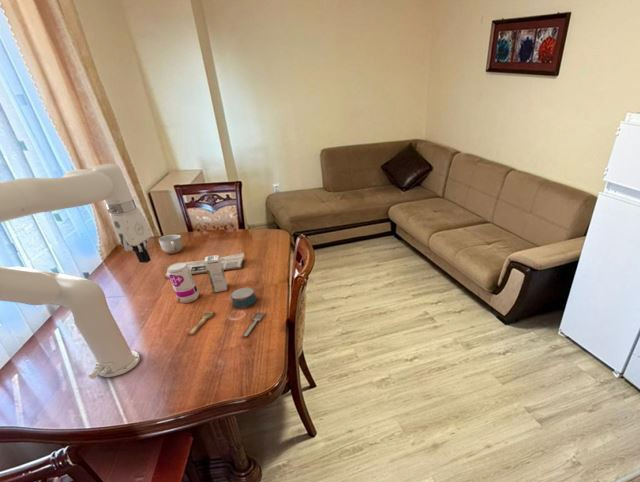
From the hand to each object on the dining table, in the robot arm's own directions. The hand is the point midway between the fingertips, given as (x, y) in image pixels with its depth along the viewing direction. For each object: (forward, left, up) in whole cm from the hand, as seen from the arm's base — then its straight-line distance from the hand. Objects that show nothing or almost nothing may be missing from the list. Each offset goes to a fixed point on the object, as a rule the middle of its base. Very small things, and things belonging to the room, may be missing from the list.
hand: (145, 261), depth 130 cm
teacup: (+68, +42, -27) cm, 84 cm away
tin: (+19, -20, -27) cm, 39 cm away
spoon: (+4, -10, -27) cm, 29 cm away
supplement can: (+21, +6, -27) cm, 35 cm away
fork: (+4, -30, -27) cm, 41 cm away
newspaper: (+50, +13, -27) cm, 58 cm away
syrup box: (+30, -4, -27) cm, 41 cm away
